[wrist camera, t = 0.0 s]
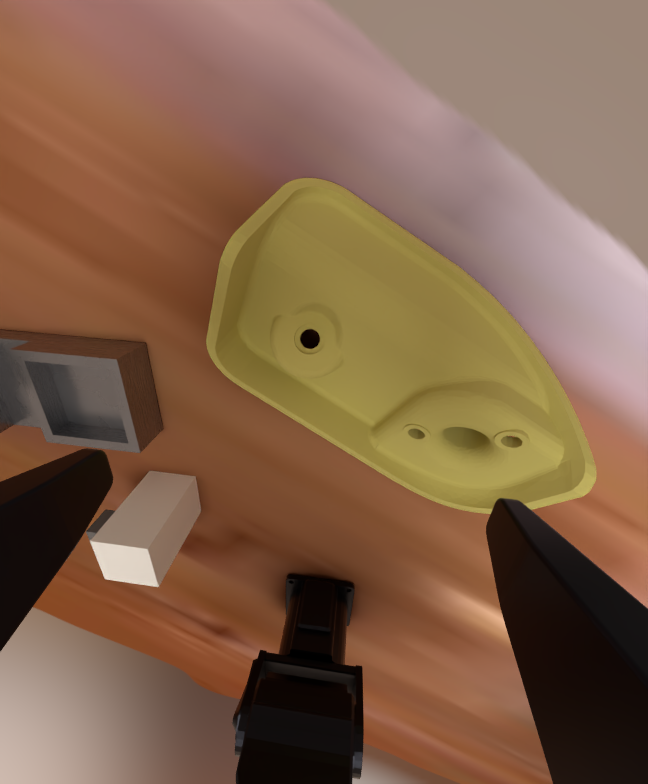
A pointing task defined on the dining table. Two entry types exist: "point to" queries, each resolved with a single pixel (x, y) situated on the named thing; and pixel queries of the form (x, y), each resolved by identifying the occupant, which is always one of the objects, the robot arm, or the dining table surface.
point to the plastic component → (392, 354)
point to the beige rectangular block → (146, 529)
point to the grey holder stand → (79, 390)
